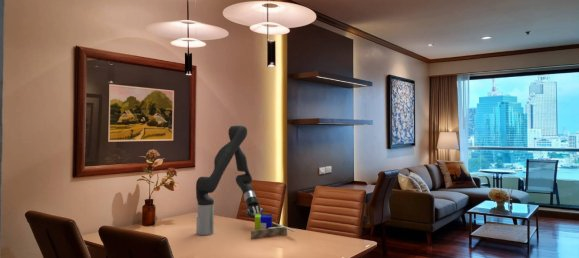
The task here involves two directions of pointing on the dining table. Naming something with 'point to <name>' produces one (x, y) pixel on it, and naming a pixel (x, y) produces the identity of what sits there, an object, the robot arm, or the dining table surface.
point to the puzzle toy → (263, 221)
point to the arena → (270, 231)
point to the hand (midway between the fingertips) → (259, 222)
